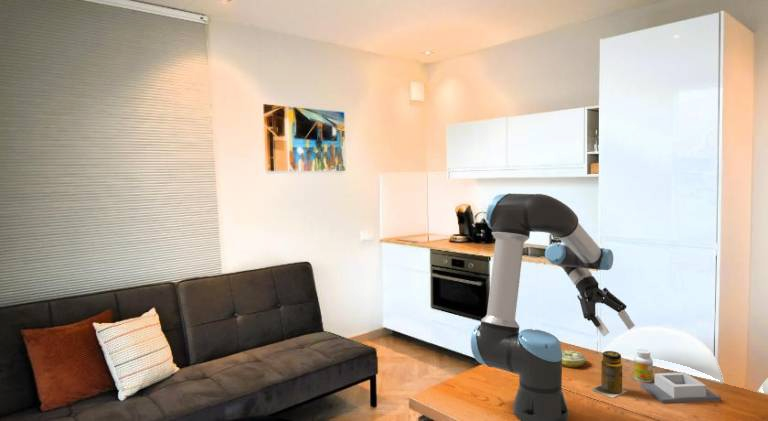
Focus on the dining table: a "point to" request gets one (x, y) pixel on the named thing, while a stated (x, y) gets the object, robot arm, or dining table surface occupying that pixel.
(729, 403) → the dining table surface
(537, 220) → the robot arm
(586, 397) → the dining table surface
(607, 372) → the condiment
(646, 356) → the supplement bottle
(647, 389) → the socket plate
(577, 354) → the decorated donut
